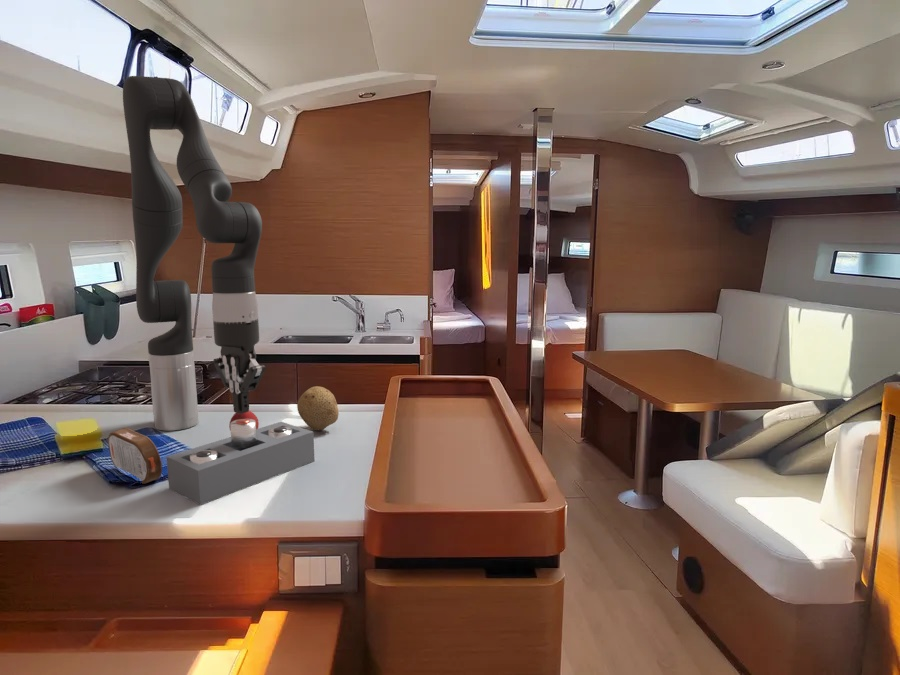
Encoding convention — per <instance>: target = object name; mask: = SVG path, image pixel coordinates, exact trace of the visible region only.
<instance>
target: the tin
mask: <svg viewBox="0 0 900 675" xmlns="http://www.w3.org/2000/svg"><path fill="white" fill-rule="evenodd" d="M107 443H108V450H109V455H110V457H109V458H110V460H111V462H112V464H113V466H114V467H115V466H116V467H119V468H121V469H123V470H125V471H127V472H129V473H131V474H132V475H134V476H136V477H137V478H139V479H140V480H141V481H142V485H143V484H144V485H145V484H148V483H151V482H153V481H157V480H159V479H160V478H161V476H162V472H163V464H162V460H161V456H160V453H159V451H158V448H157V446H156V444H155V442H153V440H151V438H149V437H148V436H147V435H144V434H141V433H140V432H137V431H134V430H132V429H130V428H128V427H123V428H121V429H119V430H115V431H111V433H110V434H109V435H108V437H107Z"/></svg>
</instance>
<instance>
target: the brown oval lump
mask: <svg viewBox="0 0 900 675" xmlns="http://www.w3.org/2000/svg"><path fill="white" fill-rule="evenodd" d="M296 404H297V405H296V407H297V412H298V414H299V417H300V418H301V419H302V420H303V422H304V423H305V424H306V426H308V427H309V428H310V429H311V430H313V431H323V430H325V429H326V428H327V427H329V426H330V425H334V424H335V423H336V422H337V421H338V419H339V414H340V413H339V407H338V403H337V400H336V397H335V395H334V394H333V393H332V392H331V390H329V389H327V388H325V387H323V386H317V385H316V386H312V387H310V388H308V389H306V390H305V391H304V392H303V393H302V395H301V396H300V397H299V398H298V401H297V403H296Z"/></svg>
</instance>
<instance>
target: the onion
mask: <svg viewBox="0 0 900 675" xmlns="http://www.w3.org/2000/svg"><path fill="white" fill-rule="evenodd" d="M239 419H253V420H255V421H256V429H259V427H260V426H259V425H260V423H259V419H258V417H257V416H256V415H255V413H253V412H252V411H251V410H249V411H248V412H246V413H242V414H239V413H236V412H234V414H233V415H232V417H231V418H230V421H229V431H230V432H231V429H230V423H231V422H232V421H235V420H239Z"/></svg>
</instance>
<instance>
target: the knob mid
mask: <svg viewBox="0 0 900 675" xmlns="http://www.w3.org/2000/svg"><path fill="white" fill-rule="evenodd" d="M229 424H230V427H229V430H230V429H231V431H230V437H231V445H232V446H233V447H236V448H245V447H250V446H253V445H255V444H256V443H257V437H256V421H255V420H253V419H239V420H235V421H232V422H231V423H230V422H229Z"/></svg>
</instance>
